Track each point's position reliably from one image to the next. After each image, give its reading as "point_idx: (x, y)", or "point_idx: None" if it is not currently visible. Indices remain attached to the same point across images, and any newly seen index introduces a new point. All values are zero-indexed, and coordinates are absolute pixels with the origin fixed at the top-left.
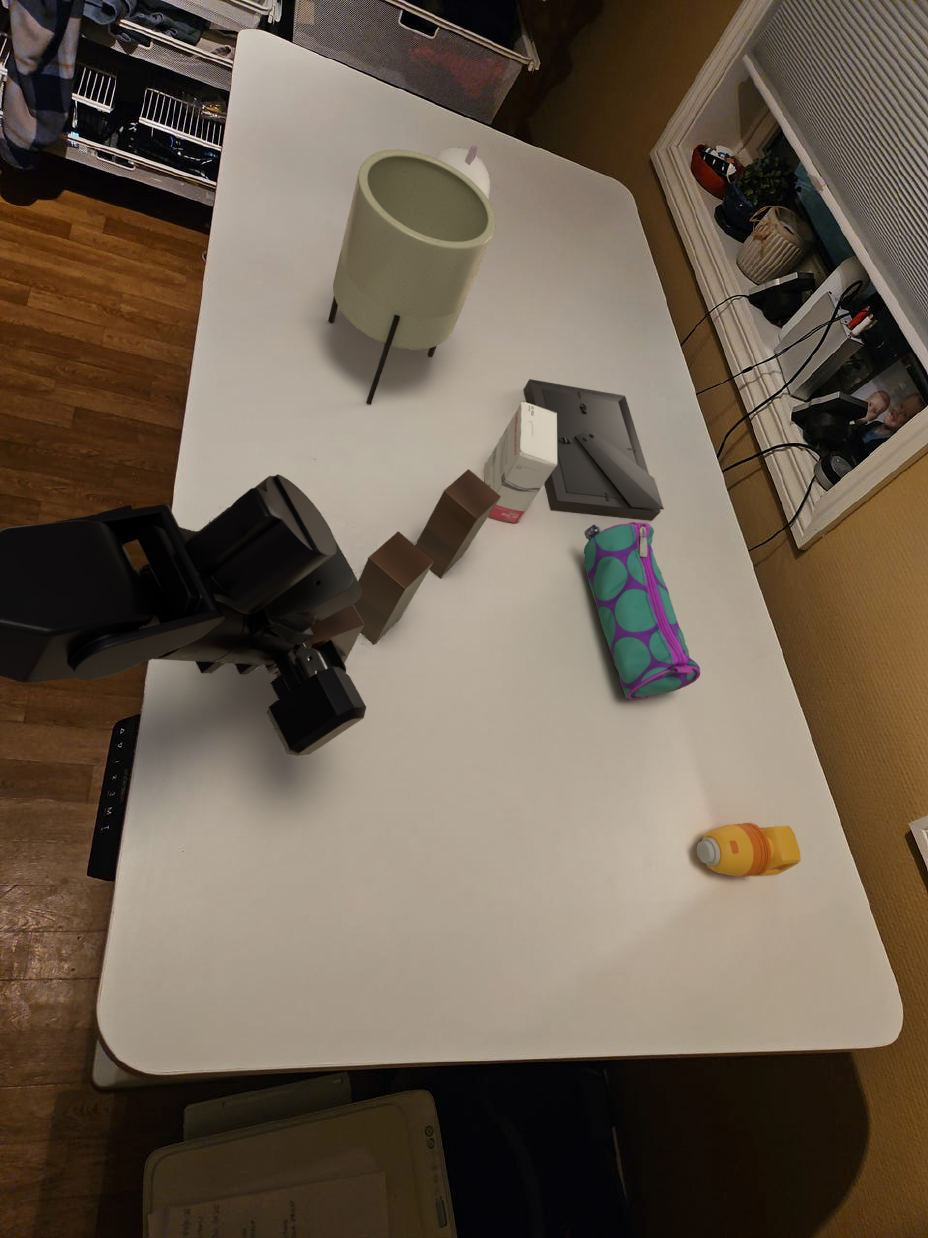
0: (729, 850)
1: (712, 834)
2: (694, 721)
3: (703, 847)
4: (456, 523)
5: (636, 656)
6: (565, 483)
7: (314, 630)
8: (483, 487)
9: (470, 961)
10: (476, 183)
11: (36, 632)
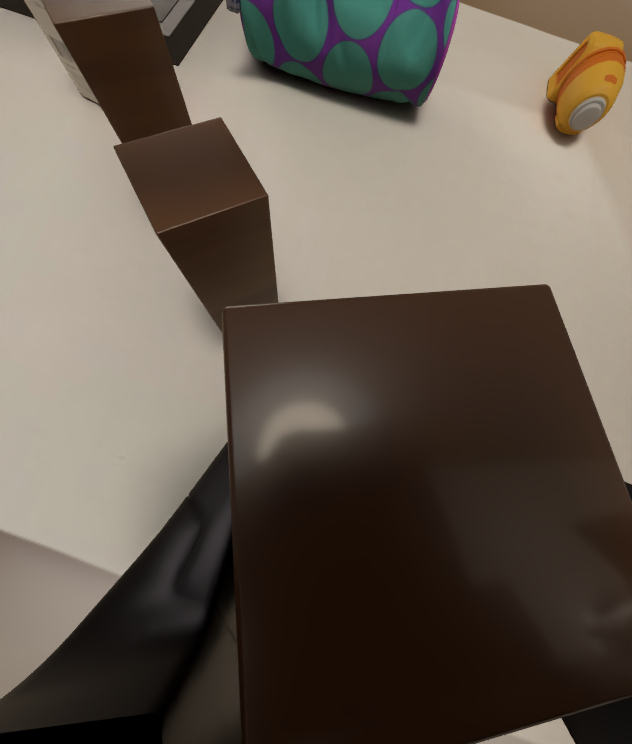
0: (612, 85)
1: (580, 99)
2: (448, 74)
3: (584, 115)
4: (149, 87)
5: (411, 37)
6: None
7: (593, 624)
8: None
9: (619, 364)
10: None
11: None
